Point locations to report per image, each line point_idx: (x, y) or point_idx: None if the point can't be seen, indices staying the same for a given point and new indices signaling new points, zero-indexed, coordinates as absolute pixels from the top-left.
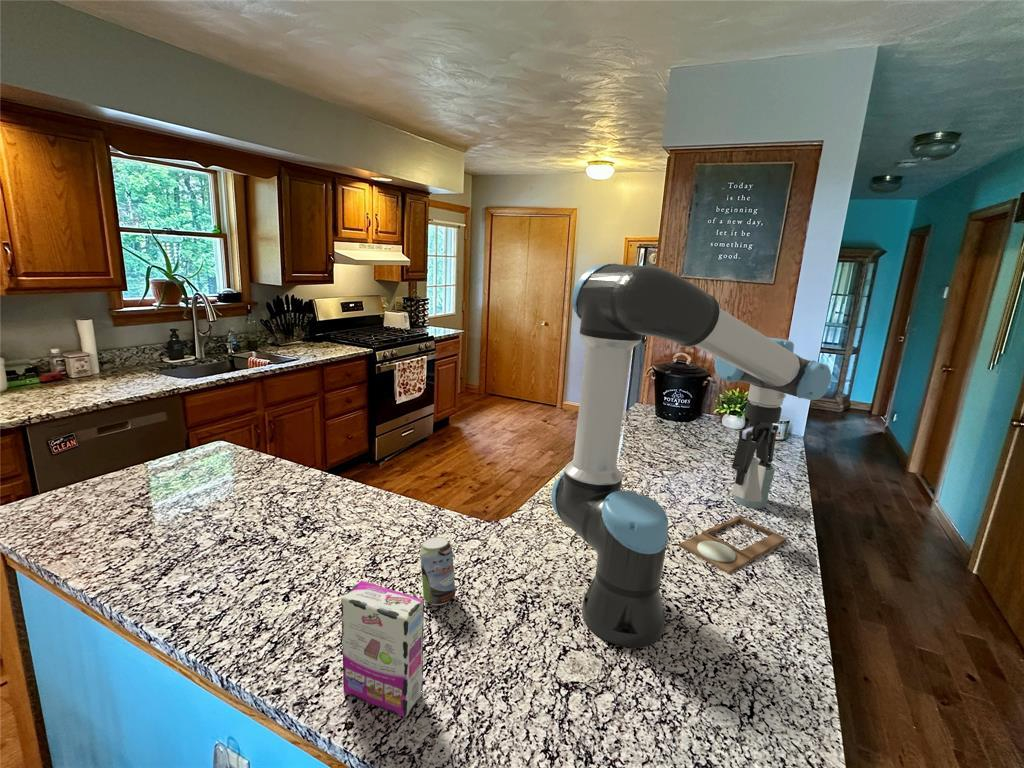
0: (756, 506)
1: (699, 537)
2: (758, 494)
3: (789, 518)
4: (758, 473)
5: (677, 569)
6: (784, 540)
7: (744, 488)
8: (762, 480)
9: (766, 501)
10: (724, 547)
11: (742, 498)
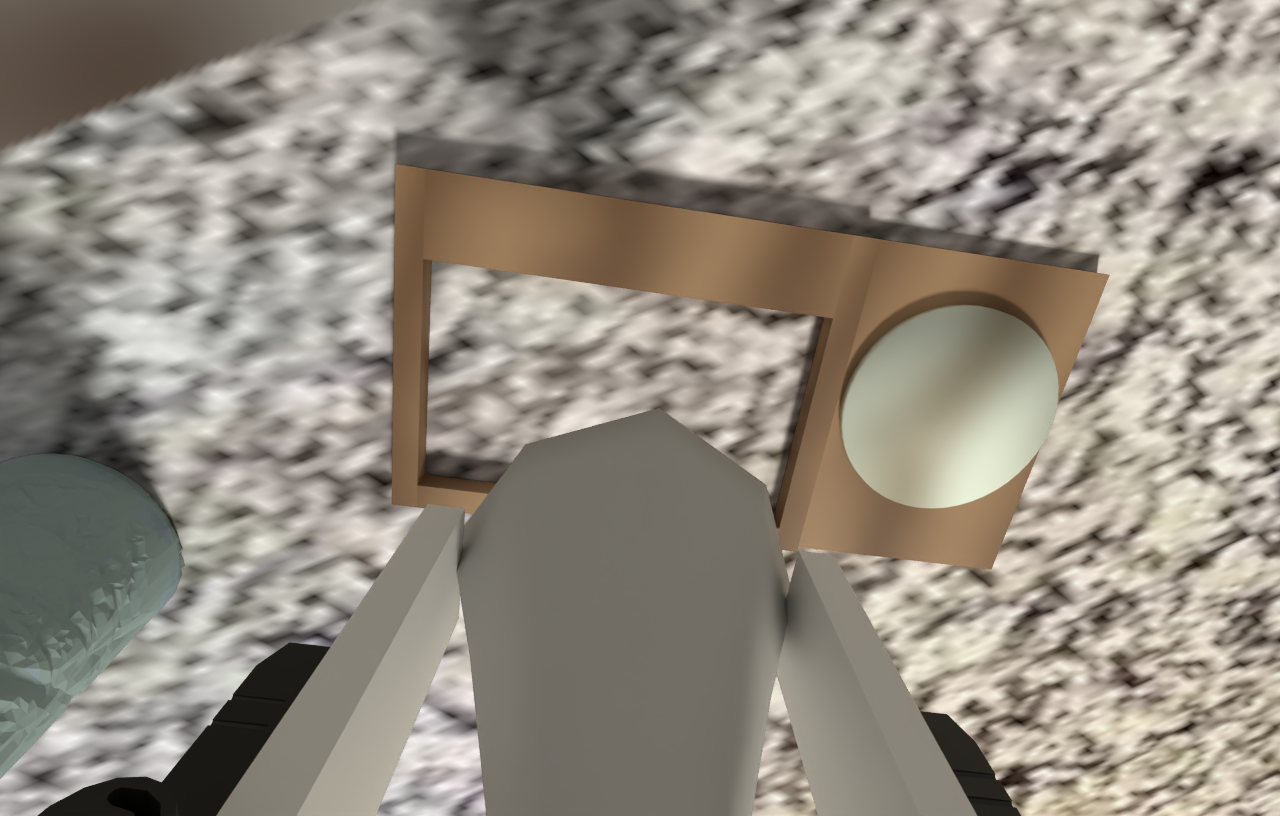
0: (122, 487)
1: (846, 533)
2: (672, 483)
3: (25, 276)
4: (368, 749)
5: (1219, 465)
6: (434, 170)
7: (882, 647)
8: (395, 607)
9: (2, 468)
10: (880, 397)
11: (834, 559)
